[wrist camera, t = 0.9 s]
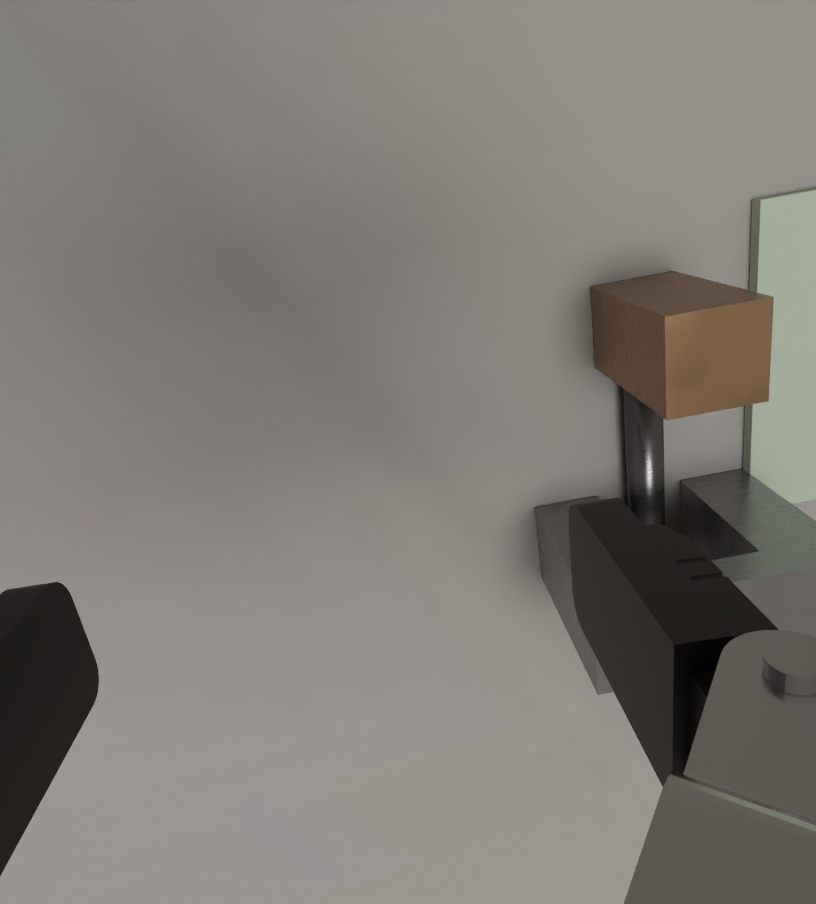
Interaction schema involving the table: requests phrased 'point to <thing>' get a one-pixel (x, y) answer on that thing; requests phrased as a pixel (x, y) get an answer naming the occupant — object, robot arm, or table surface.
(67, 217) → the table surface
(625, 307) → the wooden head mallet
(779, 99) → the table surface
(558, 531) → the slotted metal block
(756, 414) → the mat
